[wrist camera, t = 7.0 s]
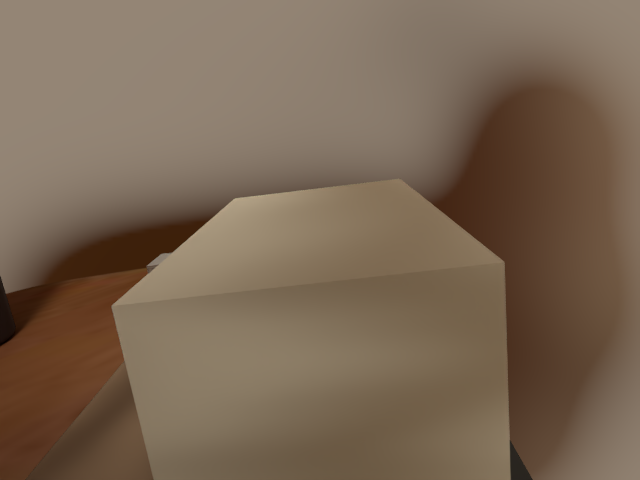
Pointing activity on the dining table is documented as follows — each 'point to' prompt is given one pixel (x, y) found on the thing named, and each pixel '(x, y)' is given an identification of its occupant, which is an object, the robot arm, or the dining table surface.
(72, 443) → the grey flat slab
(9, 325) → the bottle
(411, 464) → the cream tall block
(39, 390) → the dining table surface
